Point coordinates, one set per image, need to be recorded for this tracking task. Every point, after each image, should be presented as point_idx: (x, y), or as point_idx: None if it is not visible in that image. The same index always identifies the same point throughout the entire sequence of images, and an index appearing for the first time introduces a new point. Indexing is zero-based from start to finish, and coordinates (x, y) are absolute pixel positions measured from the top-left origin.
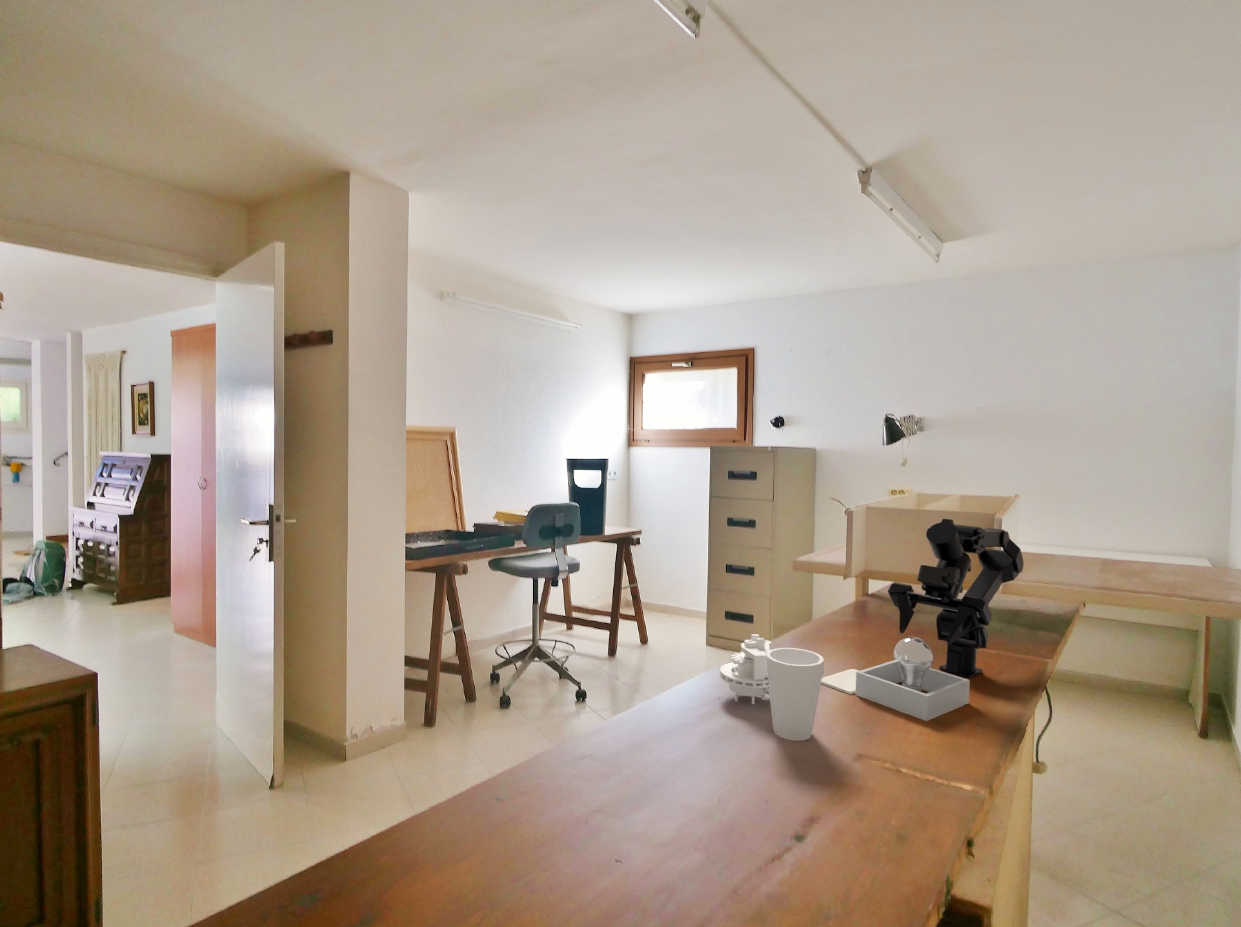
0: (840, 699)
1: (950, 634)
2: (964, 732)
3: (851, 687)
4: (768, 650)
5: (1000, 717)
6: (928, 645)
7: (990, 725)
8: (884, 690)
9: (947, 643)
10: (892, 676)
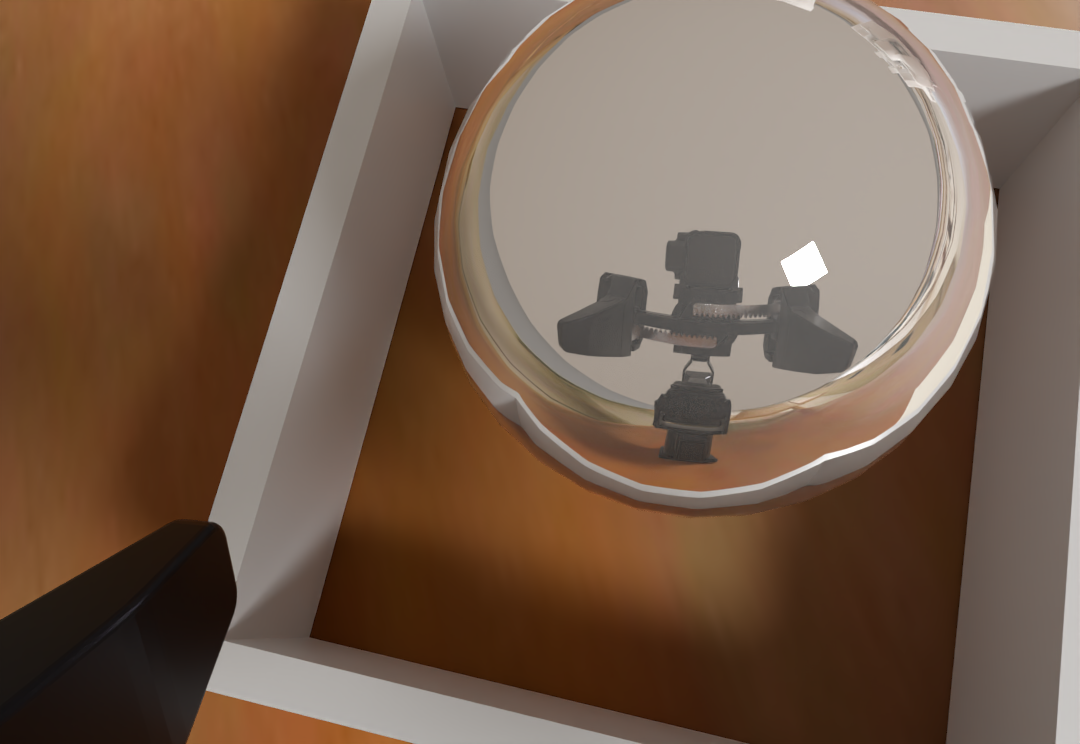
0: (1062, 8)
1: (84, 608)
2: (194, 84)
3: None
4: None
5: (14, 533)
6: (496, 263)
7: (65, 319)
8: None
9: (226, 555)
10: (989, 650)
